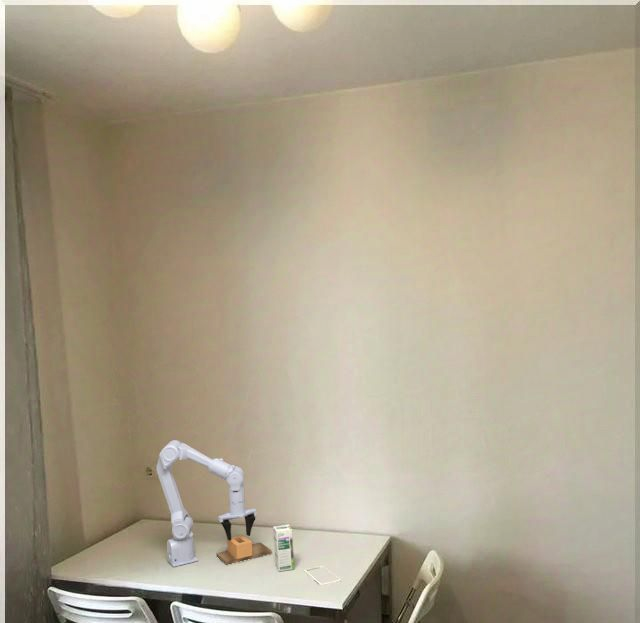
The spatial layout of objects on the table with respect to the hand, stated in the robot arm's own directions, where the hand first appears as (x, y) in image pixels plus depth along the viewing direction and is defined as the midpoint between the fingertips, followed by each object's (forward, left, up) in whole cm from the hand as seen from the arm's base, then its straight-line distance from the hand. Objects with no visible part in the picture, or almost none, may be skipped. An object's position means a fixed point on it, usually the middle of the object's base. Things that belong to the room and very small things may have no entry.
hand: (238, 537), depth 255 cm
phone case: (+16, -34, -8) cm, 38 cm away
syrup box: (+9, -19, -8) cm, 22 cm away
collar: (0, 0, -6) cm, 6 cm away
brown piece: (+2, +1, -8) cm, 8 cm away
